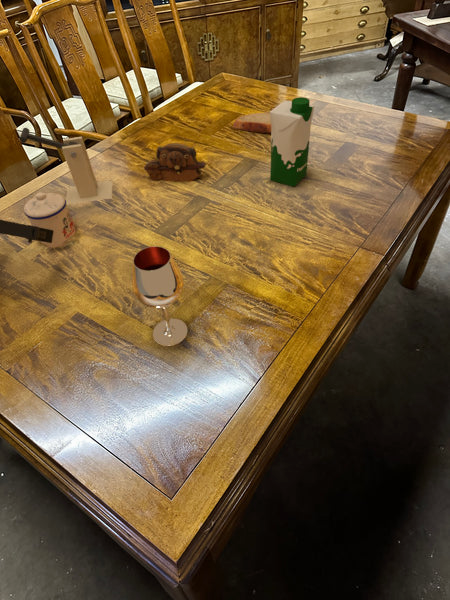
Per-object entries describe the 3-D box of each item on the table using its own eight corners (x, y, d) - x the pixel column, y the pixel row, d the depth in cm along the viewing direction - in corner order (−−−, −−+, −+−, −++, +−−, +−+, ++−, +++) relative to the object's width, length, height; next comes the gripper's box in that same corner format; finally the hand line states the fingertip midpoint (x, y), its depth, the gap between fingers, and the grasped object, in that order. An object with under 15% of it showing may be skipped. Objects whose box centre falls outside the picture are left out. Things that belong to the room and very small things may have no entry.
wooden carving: (146, 187, 111) (138, 152, 104) (149, 178, 114) (141, 143, 107) (207, 185, 110) (204, 149, 103) (208, 176, 113) (205, 140, 106)
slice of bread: (229, 125, 134) (228, 113, 131) (276, 110, 139) (277, 99, 136) (258, 147, 123) (258, 134, 120) (309, 130, 128) (310, 118, 125)
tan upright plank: (66, 209, 107) (44, 155, 96) (68, 190, 113) (48, 137, 102) (113, 201, 108) (96, 147, 97) (113, 183, 114) (97, 130, 103)
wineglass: (170, 309, 80) (152, 234, 67) (201, 328, 77) (189, 253, 64) (139, 336, 76) (113, 262, 63) (170, 358, 73) (151, 284, 59)
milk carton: (295, 189, 106) (301, 110, 91) (264, 180, 110) (265, 102, 95) (311, 173, 111) (318, 95, 96) (281, 165, 114) (284, 89, 100)
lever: (19, 143, 95) (19, 134, 94) (22, 134, 98) (23, 124, 97) (79, 160, 100) (80, 151, 99) (80, 150, 104) (82, 142, 102)
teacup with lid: (76, 246, 96) (58, 202, 87) (36, 251, 95) (14, 208, 87) (80, 216, 104) (64, 173, 96) (44, 221, 104) (24, 179, 95)
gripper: (-128, 224, 72) (-24, 239, 93) (-15, 248, 66) (71, 259, 86) (-122, 180, 72) (-19, 205, 92) (-7, 200, 65) (77, 222, 85)
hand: (25, 231), depth 89 cm, fingers open, 13 cm apart
